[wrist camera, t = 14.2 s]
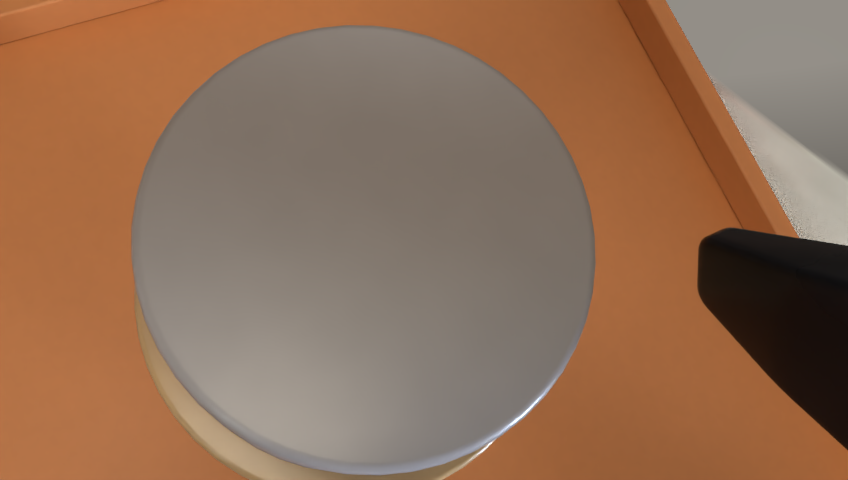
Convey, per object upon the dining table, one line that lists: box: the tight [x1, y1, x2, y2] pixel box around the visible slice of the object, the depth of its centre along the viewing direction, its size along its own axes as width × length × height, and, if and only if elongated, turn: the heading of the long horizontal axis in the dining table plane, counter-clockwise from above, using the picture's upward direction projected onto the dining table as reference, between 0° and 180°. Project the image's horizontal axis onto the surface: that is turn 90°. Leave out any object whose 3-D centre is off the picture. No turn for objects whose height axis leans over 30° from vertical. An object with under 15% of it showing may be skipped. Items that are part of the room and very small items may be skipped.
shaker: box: [131, 25, 596, 480], centre depth 13 cm, size 5×5×13 cm
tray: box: [0, 0, 848, 480], centre depth 18 cm, size 23×27×2 cm
